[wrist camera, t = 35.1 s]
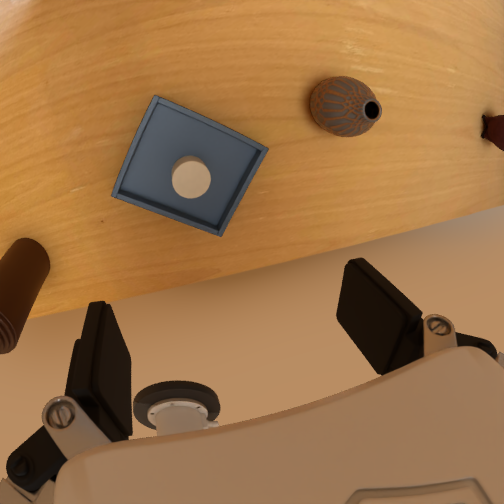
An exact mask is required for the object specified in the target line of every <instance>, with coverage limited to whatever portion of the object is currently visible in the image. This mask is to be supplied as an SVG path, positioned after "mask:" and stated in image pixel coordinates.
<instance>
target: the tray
mask: <svg viewBox="0 0 504 504" xmlns="http://www.w3.org/2000/svg"><path fill="white" fill-rule="evenodd" d="M268 150H269V149H268V148H267V147H265V146H263V145H261V144H259V143H257V142H255V141H253V140H251V139H250V138H248V137H246V136H244V135H242V134H240V133H238V132H236V131H234V130H232V129H230V128H228V127H226V126H224V125H222V124H219V123H217V122H215V121H213V120H211V119H209V118H207V117H205V116H202V115H200V114H198V113H196V112H194V111H191V110H189V109H187V108H185V107H182V106H180V105H178V104H175V103H173V102H171V101H168V100H166V99H164V98H161V97H159V96H156V95H154V97H153V99H152V101H151V103H150V105H149V107H148V109H147V111H146V113H145V115H144V117H143V119H142V121H141V123H140V126H139V128H138V130H137V132H136V134H135V137H134V139H133V141H132V144H131V146H130V148H129V151H128V153H127V155H126V158H125V160H124V163H123V165H122V168H121V170H120V173H119V175H118V178H117V181H116V183H115V186H114V189H113V192H112V194H111V196H112V197H114V198H117V199H120V200H123V201H125V202H128V203H131V204H133V205H136V206H139V207H142V208H144V209H147V210H150V211H152V212H155V213H158V214H160V215H163V216H166V217H168V218H171V219H174V220H177V221H179V222H182V223H185V224H187V225H190V226H193V227H195V228H198V229H201V230H203V231H206V232H209V233H212V234H214V235H217V236H220V237H222V235H223V233H224V231H225V229H226V227H227V225H228V223H229V222H230V220H231V218H232V216H233V214H234V212H235V210H236V208H237V206H238V205H239V203H240V201H241V199H242V197H243V195H244V193H245V192H246V190H247V188H248V186H249V184H250V182H251V180H252V179H253V177H254V175H255V173H256V171H257V169H258V168H259V166H260V164H261V162H262V160H263V159H264V157H265V155H266V153H267V151H268ZM184 156H195V157H198V158H200V159H201V160H202V161H203V162H204V164H205V165H206V167H207V169H208V170H209V172H210V176H211V182H210V185H209V188H208V189H207V191H206V192H205V193H204V194H202V195H201V196H199V197H196V198H185V197H182V196H180V195H179V194H178V193H177V192H176V191H175V189H174V187H173V184H172V168H173V166H174V164H175V162H176V161H177V160H179V159H180V158H182V157H184Z"/></svg>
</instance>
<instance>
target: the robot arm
mask: <svg viewBox="0 0 504 504" xmlns="http://www.w3.org/2000/svg"><path fill="white" fill-rule="evenodd" d="M336 316H337V320H338V322H339V323H340V324H341V326H342V327H343V328H344V330H345V331H346V332H347V334H348V335H349V336H350V338H351V339H352V340H353V342H354V343H355V344H356V346H357V347H358V348H359V350H360V351H361V352H362V354H363V355H364V356H365V358H366V359H367V360H368V362H369V363H370V364H371V366H372V367H373V369H374V370H375V371H376V373H377V374H381V375H382V376H380V377H378V378H376V379H374V380H371V381H368V382H366V383H364V384H361V385H359V386H356V387H354V388H351V389H348V390H345V391H343V392H340V393H337V394H334V395H332V396H329V397H326V398H323V399H320V400H317V401H314V402H311V403H308V404H305V405H302V406H298V407H295V408H292V409H288V410H285V411H281V412H278V413H274V414H270V415H267V416H262V417H259V418H255V419H250V420H246V421H242V422H238V423H233V424H228V425H223V426H218V422H217V421H208V420H206V418H207V416H208V412H207V408H206V406H205V405H204V404H202V403H201V402H199V401H196V400H193V399H189V398H170V399H165V400H161V401H159V402H156V403H155V404H153V405H152V406H151V407H150V408H149V409H148V412H147V415H148V420H149V421H150V422H151V423H152V424H153V425H155V426H156V430H157V436H155V437H146V438H139V439H133V440H129V439H128V436H132V433H133V431H132V406H131V357H130V354H129V351H128V349H127V346H126V344H125V341H124V339H123V337H122V334H121V331H120V329H119V326H118V323H117V321H116V318H115V315H114V313H113V310H112V307H111V305H110V304H106V303H105V301H98V302H91V303H89V306H88V310H87V314H86V318H85V322H84V326H83V331H82V335H81V339H77V340H76V341H75V344H74V348H73V353H72V357H71V362H70V367H69V372H68V378H67V384H66V389H65V396H59V397H55V398H53V399H51V400H50V401H49V402H48V403H47V404H46V405H45V407H44V409H43V412H42V422H43V424H44V425H43V426H42V427H41V428H40V429H39V430H37V431H36V432H35V433H34V434H33V435H32V436H31V437H29V438H28V439H27V440H26V441H25V442H24V443H23V444H21V445H20V446H19V447H18V448H17V449H16V450H15V451H13V452H12V453H11V455H10V456H9V458H8V460H7V464H6V470H7V474H8V477H7V479H4V478H3V479H2V480H1V482H0V504H504V354H503V353H501V352H499V353H498V354H497V351H496V349H495V347H494V345H493V344H492V343H491V342H490V341H488V340H485V339H482V338H478V337H474V336H470V335H465V334H461V333H457V332H455V328H454V325H453V324H452V322H451V321H450V320H449V319H447V318H446V317H444V316H441V315H438V314H431V315H428V316H426V317H425V319H424V320H423V319H422V318H421V316H422V311H421V310H419V308H418V307H417V306H415V305H414V304H413V303H412V302H411V301H410V300H409V299H408V298H407V297H406V296H405V295H404V294H403V293H402V292H400V291H399V290H398V289H397V288H396V287H395V286H394V285H393V284H392V283H391V282H390V281H388V280H387V279H386V278H385V277H384V276H383V275H382V274H381V273H380V272H379V271H377V270H376V269H375V268H374V267H373V266H372V265H371V264H369V263H368V262H367V261H366V260H365V259H364V258H356V259H351V260H349V261H348V264H346V265H345V268H344V275H343V280H342V287H341V292H340V297H339V303H338V308H337V313H336Z"/></svg>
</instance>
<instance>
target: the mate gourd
mask: <svg viewBox="0 0 504 504" xmlns="http://www.w3.org/2000/svg"><path fill="white" fill-rule="evenodd" d="M482 118H483V121H484V123H485V126H486V127H485V129H484V131H483V133H482V135H481V137H482V138H483V139H484V138H486V139H488V140H489V141H491V142H492V143H494V144H495V145H496V146H497V147H498V148H499V149H501V150H503V151H504V115H498V116H495V117H486V116H485V115H483V116H482Z"/></svg>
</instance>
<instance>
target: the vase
mask: <svg viewBox="0 0 504 504" xmlns="http://www.w3.org/2000/svg"><path fill="white" fill-rule="evenodd" d="M310 109H311V113H312V115H313V117H314V119H315V121H316V122H317V123H318V124H319V125H320V126H321V127H322V128H323V129H324V130H326V131H327V132H329V133H331V134H334V135H337V136H342V137H353V136H358V135H361V134H363V133H365V132H367V131H368V130H369V129H370V128H371V127H372V126H373V125H374V123H375V122H376V121H378V120H379V118H380V117H381V113H382V108H381V105H380V103H379V102H378V101H377V100H376V97H375V95H374V93H373V92H372V91H371V89H370V88H369V87H368V86H367V85H365V84H364V83H362V82H361V81H359V80H357V79H354V78H351V77H345V76H339V77H332V78H329V79H326V80H324V81H323V82H321V83H320V84H319V85H318V86H317V87H316V88H315V89H314V91H313V93H312V96H311V99H310Z"/></svg>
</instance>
